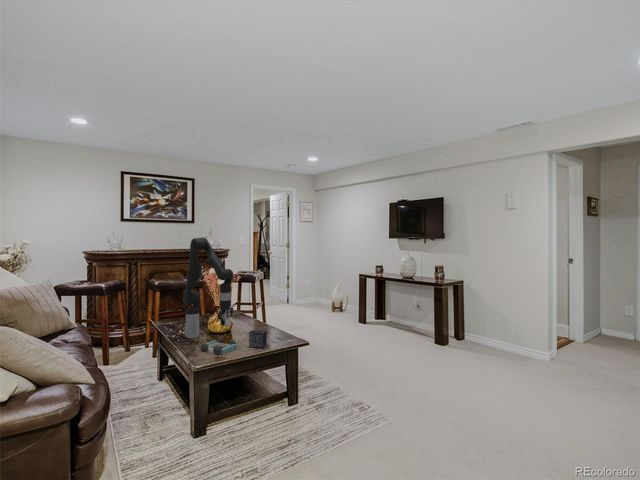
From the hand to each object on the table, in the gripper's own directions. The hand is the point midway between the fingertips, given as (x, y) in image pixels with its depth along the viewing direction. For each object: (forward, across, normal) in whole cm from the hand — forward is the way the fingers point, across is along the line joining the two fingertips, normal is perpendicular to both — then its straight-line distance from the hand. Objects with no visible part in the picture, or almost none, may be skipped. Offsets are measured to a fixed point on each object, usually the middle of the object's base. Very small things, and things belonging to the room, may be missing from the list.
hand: (225, 324), depth 236 cm
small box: (+16, -11, +19) cm, 27 cm away
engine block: (0, 0, 0) cm, 0 cm away
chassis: (+15, +6, -1) cm, 16 cm away
